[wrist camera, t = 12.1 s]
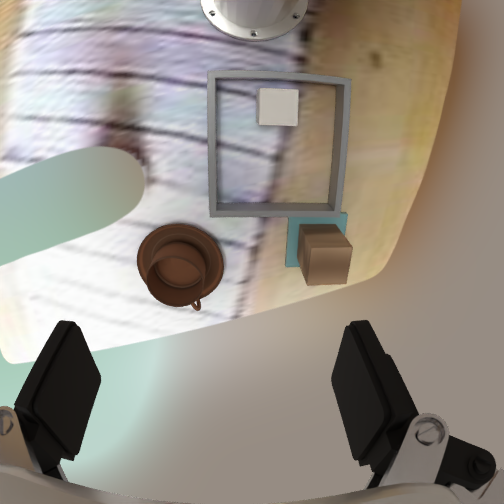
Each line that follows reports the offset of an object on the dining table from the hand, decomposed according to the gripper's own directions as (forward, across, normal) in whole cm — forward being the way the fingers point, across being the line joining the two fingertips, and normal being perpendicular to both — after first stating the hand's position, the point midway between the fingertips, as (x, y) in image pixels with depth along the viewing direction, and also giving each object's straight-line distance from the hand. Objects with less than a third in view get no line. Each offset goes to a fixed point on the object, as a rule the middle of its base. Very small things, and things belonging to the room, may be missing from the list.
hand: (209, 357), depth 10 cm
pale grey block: (+30, -6, -8) cm, 32 cm away
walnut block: (+30, -12, +10) cm, 34 cm away
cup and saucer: (+31, +7, +13) cm, 34 cm away
